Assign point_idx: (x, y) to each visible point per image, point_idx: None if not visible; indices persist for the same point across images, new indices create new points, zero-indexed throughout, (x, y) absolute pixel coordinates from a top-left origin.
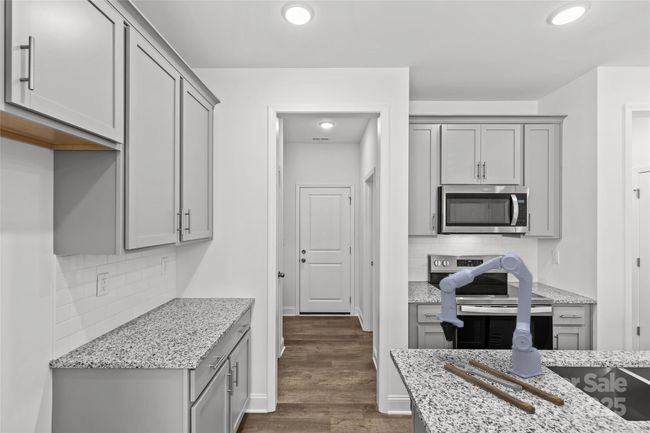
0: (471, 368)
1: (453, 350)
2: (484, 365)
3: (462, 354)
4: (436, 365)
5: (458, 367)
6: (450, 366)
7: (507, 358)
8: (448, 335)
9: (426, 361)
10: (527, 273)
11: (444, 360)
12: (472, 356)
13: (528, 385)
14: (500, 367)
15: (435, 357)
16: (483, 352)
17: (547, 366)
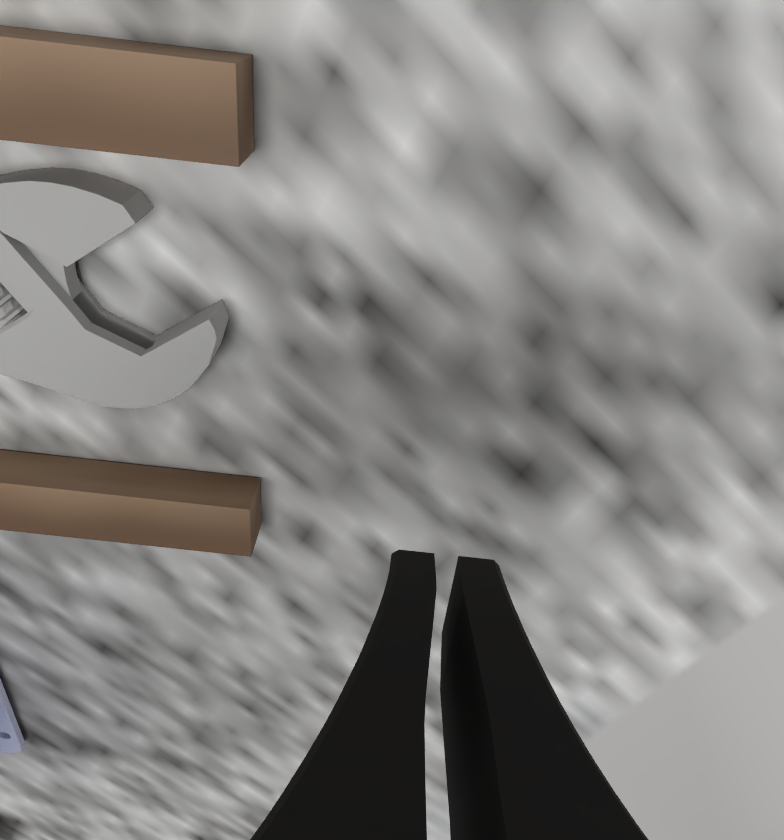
0: (10, 351)
1: (684, 642)
2: (35, 522)
3: (532, 625)
4: (435, 52)
5: (86, 222)
6: (118, 106)
7: (241, 780)
8: (354, 666)
9: (688, 32)
10: None
11: (522, 336)
12: None
13: None
14: (72, 627)
15: (696, 317)
16: None
17: (9, 821)
